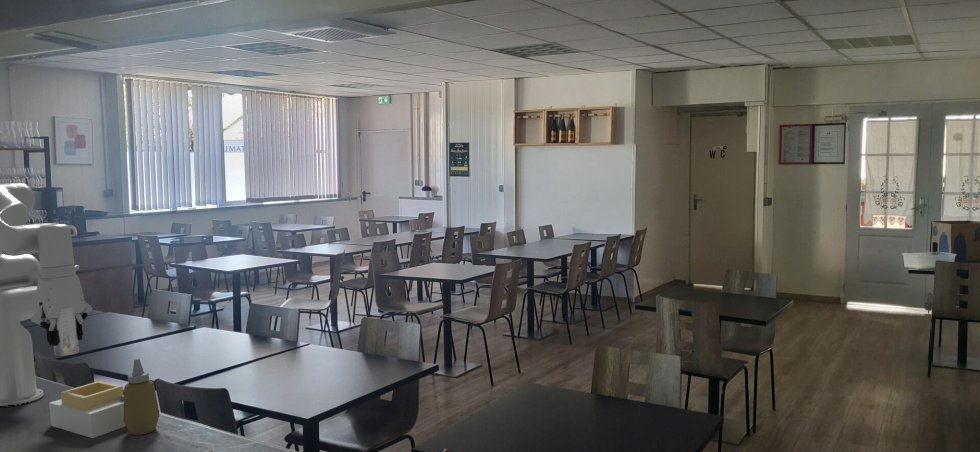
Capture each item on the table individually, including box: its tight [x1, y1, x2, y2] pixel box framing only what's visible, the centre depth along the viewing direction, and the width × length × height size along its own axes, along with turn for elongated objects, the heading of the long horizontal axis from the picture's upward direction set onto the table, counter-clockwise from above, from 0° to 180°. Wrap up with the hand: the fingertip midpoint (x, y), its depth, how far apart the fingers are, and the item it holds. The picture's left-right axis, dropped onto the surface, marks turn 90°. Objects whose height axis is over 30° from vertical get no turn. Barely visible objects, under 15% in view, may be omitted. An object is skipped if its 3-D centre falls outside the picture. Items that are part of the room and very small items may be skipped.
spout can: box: [53, 307, 80, 357], centre depth 189 cm, size 6×6×14 cm
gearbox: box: [48, 380, 126, 439], centre depth 187 cm, size 18×12×9 cm, turn 59°
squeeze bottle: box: [123, 358, 161, 436], centre depth 180 cm, size 8×8×18 cm
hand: (65, 341), depth 190 cm, fingers closed on spout can, 5 cm apart
